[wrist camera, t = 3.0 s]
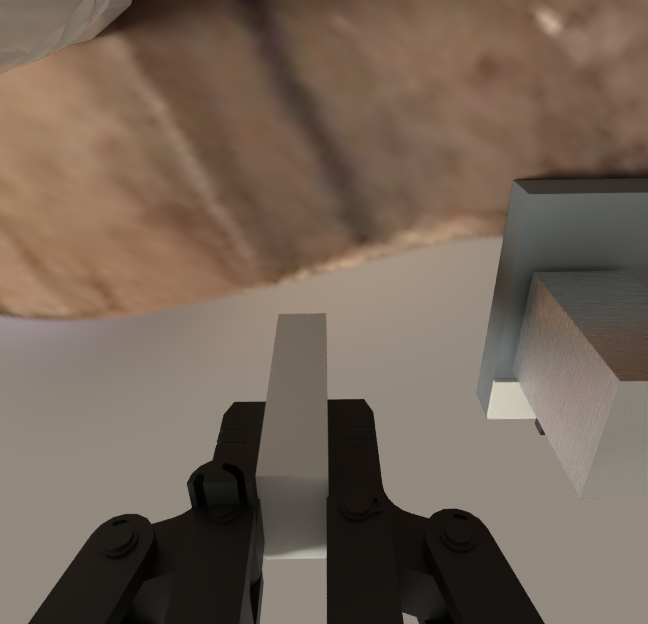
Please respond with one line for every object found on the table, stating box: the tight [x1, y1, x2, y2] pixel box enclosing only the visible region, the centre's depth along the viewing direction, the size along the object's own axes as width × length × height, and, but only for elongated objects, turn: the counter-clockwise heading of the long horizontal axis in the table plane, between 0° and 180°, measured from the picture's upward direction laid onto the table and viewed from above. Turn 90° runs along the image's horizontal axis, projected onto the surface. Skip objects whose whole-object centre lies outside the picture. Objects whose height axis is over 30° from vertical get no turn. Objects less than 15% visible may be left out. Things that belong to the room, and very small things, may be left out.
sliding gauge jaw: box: [512, 271, 648, 499], centre depth 16 cm, size 3×6×6 cm, turn 1°
